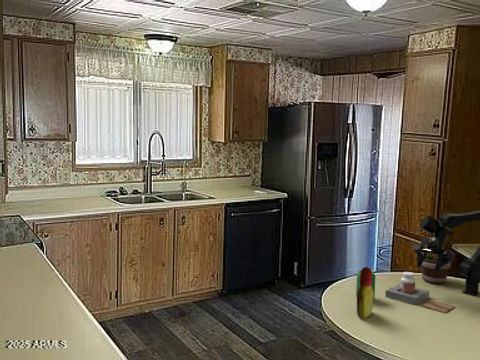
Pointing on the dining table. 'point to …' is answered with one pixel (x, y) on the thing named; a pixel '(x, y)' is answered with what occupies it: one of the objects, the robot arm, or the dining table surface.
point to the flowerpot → (429, 268)
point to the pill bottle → (408, 283)
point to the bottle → (365, 293)
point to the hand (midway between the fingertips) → (426, 269)
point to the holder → (407, 295)
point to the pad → (438, 306)
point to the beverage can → (371, 283)
